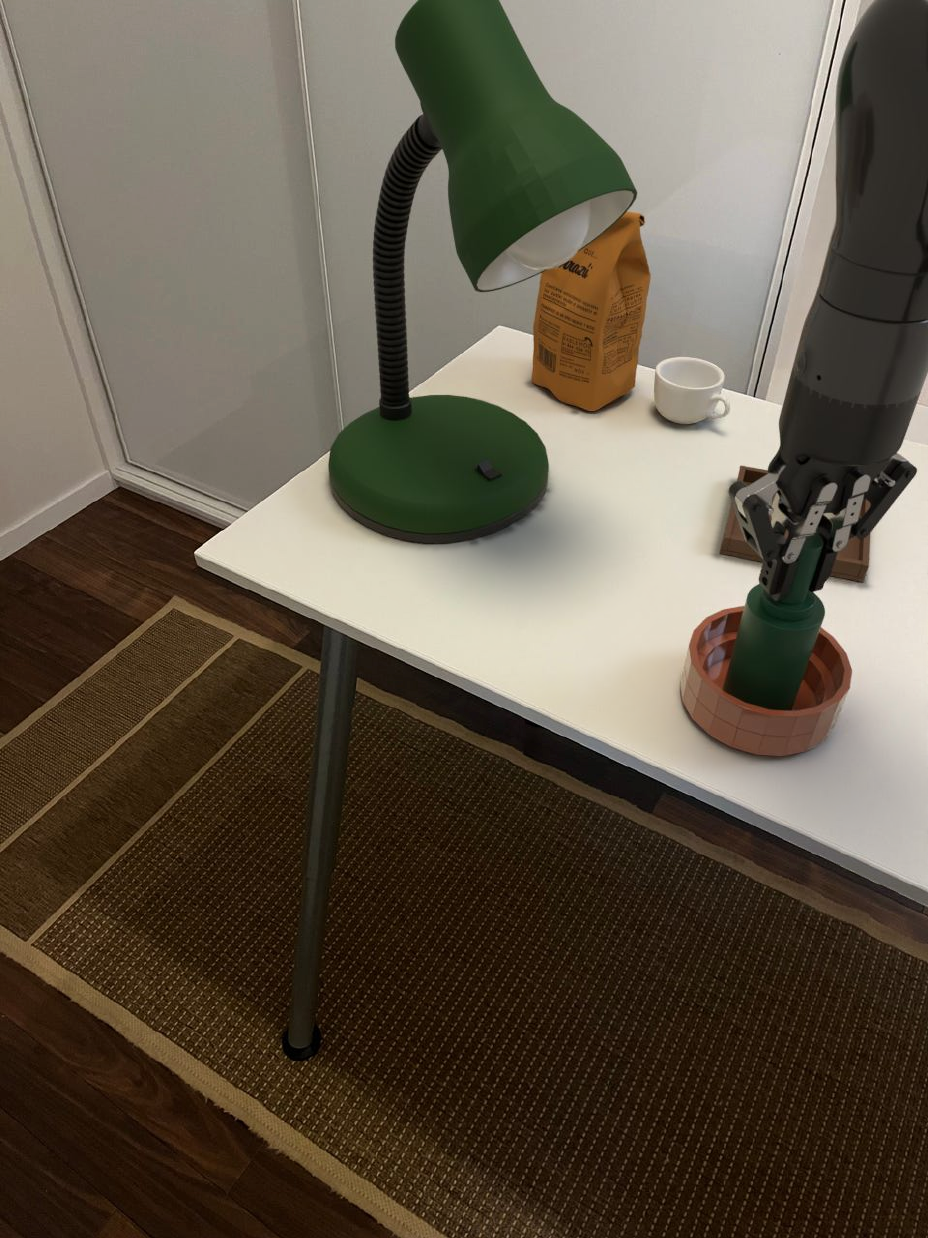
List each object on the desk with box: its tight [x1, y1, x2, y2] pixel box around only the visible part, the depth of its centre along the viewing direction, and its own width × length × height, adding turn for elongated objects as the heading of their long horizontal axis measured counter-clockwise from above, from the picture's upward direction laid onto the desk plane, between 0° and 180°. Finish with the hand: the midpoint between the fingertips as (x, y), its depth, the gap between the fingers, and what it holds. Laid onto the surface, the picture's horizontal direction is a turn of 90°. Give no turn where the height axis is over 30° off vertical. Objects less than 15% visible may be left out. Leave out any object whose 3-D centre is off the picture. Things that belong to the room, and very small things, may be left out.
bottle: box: [722, 533, 826, 711], centre depth 71 cm, size 6×6×16 cm
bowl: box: [679, 605, 853, 757], centre depth 75 cm, size 12×12×5 cm
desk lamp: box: [327, 0, 638, 544], centre depth 83 cm, size 31×23×45 cm
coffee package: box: [531, 211, 652, 412], centre depth 108 cm, size 10×12×22 cm
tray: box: [719, 465, 871, 583], centre depth 93 cm, size 13×13×2 cm
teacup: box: [653, 356, 731, 425], centre depth 108 cm, size 10×8×5 cm
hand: (791, 587), depth 68 cm, fingers closed on bottle, 2 cm apart
